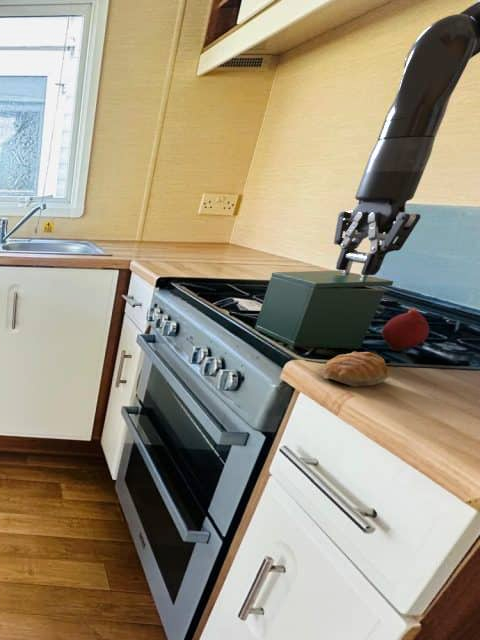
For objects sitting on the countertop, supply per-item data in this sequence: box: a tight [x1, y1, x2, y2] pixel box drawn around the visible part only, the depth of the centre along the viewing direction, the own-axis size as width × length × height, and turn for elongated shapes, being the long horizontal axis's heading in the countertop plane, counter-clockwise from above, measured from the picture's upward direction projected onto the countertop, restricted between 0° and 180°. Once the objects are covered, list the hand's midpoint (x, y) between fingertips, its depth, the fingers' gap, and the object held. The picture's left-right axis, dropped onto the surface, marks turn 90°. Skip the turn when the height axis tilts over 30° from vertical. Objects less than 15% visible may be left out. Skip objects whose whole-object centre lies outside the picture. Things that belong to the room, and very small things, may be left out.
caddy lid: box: [271, 250, 395, 288], centre depth 78 cm, size 13×12×5 cm
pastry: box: [322, 350, 391, 388], centre depth 63 cm, size 9×7×4 cm
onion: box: [381, 307, 430, 352], centre depth 76 cm, size 6×6×8 cm
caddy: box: [254, 276, 386, 350], centre depth 81 cm, size 13×12×11 cm
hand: (354, 271), depth 78 cm, fingers closed on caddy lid, 5 cm apart
